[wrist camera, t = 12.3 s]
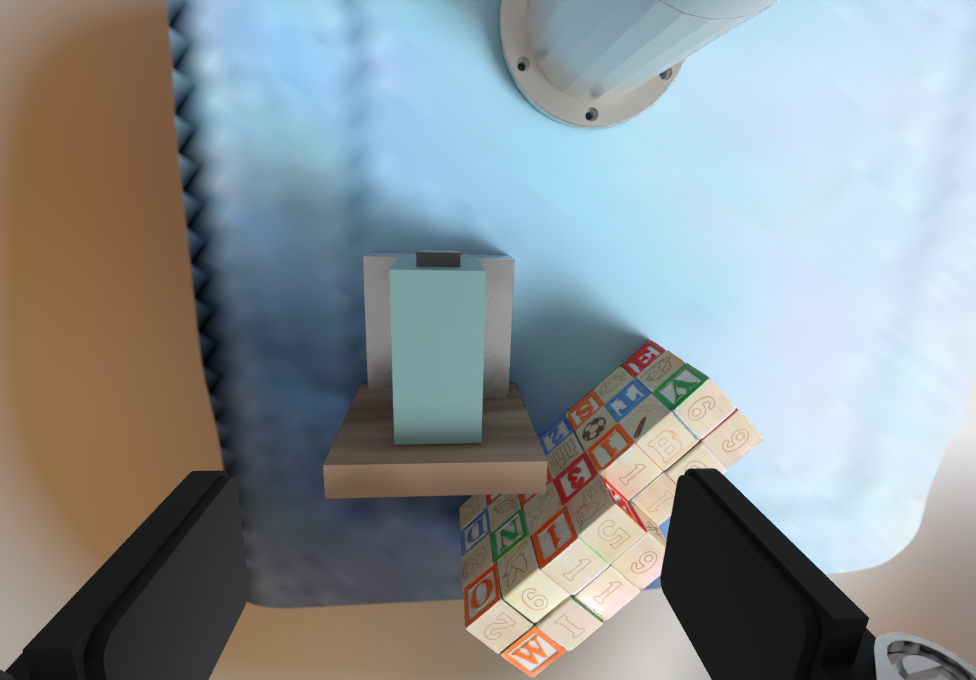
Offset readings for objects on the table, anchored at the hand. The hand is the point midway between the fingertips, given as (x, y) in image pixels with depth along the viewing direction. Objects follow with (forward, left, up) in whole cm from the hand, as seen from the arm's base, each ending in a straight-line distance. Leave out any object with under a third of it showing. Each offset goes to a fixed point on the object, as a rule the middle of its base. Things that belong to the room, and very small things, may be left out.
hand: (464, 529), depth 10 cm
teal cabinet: (+2, -1, -23) cm, 23 cm away
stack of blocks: (+13, +11, -27) cm, 31 cm away
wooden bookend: (+3, -1, -26) cm, 27 cm away
